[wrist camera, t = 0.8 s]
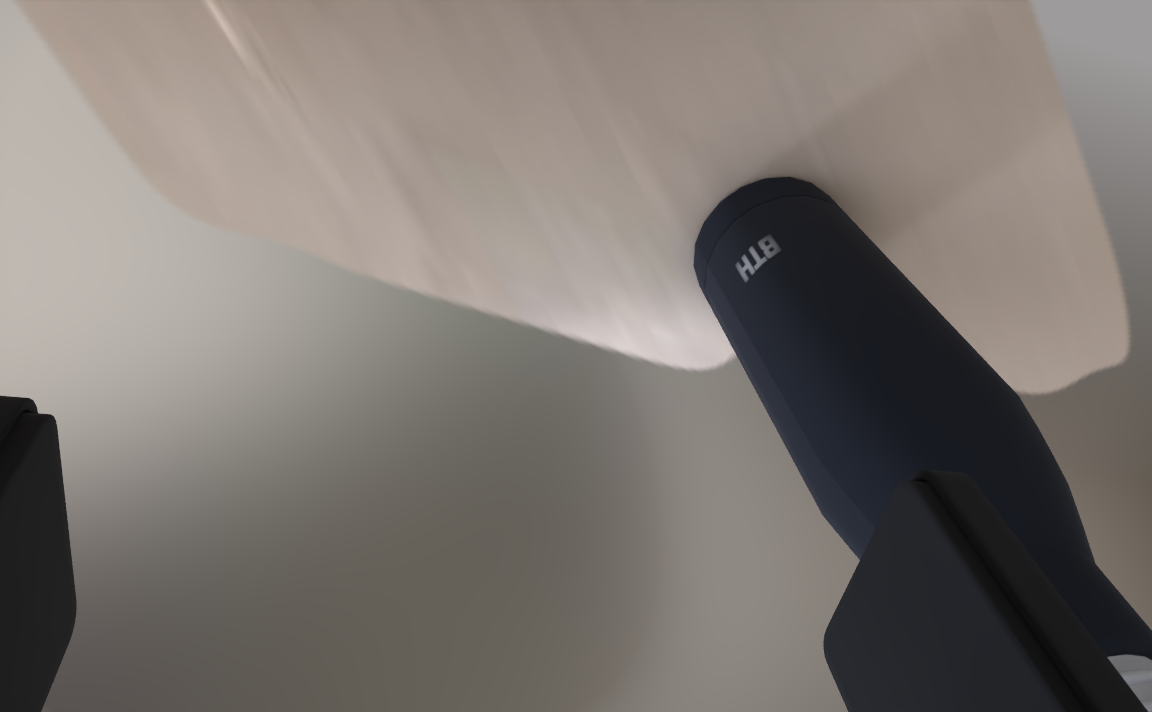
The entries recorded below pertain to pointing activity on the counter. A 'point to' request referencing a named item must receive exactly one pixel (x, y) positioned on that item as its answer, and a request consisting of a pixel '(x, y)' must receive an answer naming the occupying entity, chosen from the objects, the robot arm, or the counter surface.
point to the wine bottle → (890, 392)
